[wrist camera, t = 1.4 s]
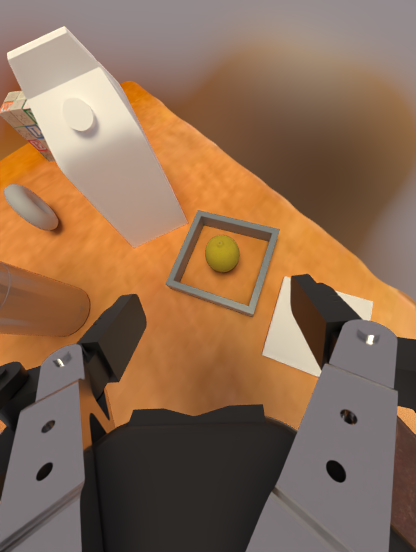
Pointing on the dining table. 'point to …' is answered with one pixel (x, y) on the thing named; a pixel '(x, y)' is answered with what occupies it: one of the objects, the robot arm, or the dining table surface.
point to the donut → (30, 207)
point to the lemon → (222, 253)
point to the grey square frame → (232, 226)
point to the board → (299, 331)
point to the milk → (96, 136)
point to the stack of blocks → (24, 122)
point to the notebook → (404, 482)
